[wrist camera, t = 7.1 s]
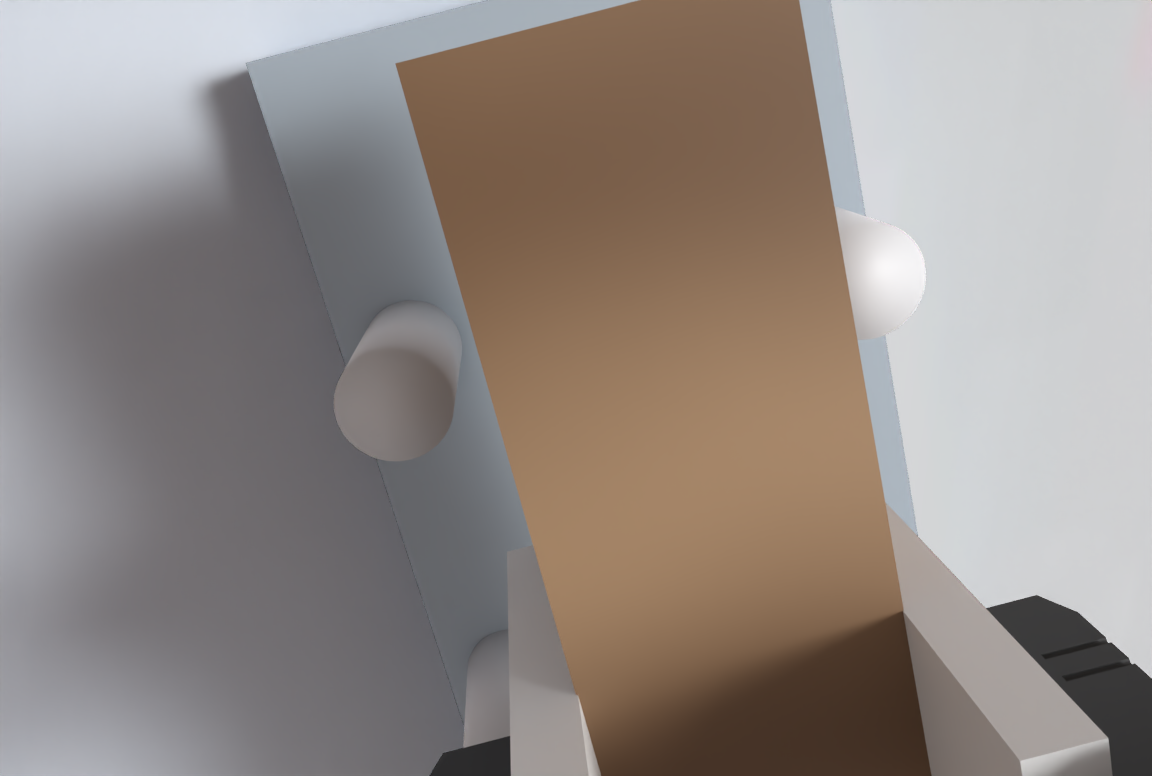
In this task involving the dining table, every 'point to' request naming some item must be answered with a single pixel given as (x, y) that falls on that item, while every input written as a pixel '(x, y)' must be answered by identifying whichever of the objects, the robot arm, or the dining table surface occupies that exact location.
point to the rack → (440, 323)
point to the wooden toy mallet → (679, 382)
